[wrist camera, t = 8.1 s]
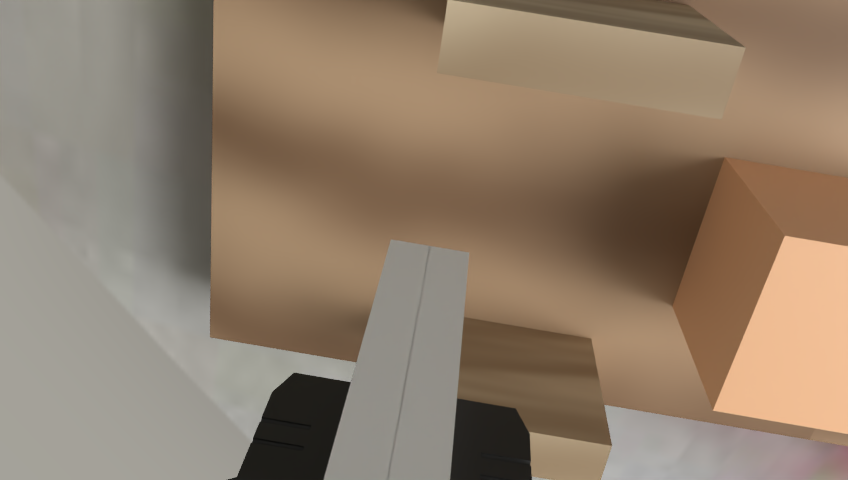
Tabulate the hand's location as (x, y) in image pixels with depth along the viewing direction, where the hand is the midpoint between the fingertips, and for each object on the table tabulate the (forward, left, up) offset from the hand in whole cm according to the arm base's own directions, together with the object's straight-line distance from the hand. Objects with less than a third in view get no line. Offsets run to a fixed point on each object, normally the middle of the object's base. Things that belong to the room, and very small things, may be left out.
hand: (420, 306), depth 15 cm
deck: (+1, +7, -11) cm, 13 cm away
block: (+1, +10, -8) cm, 13 cm away
